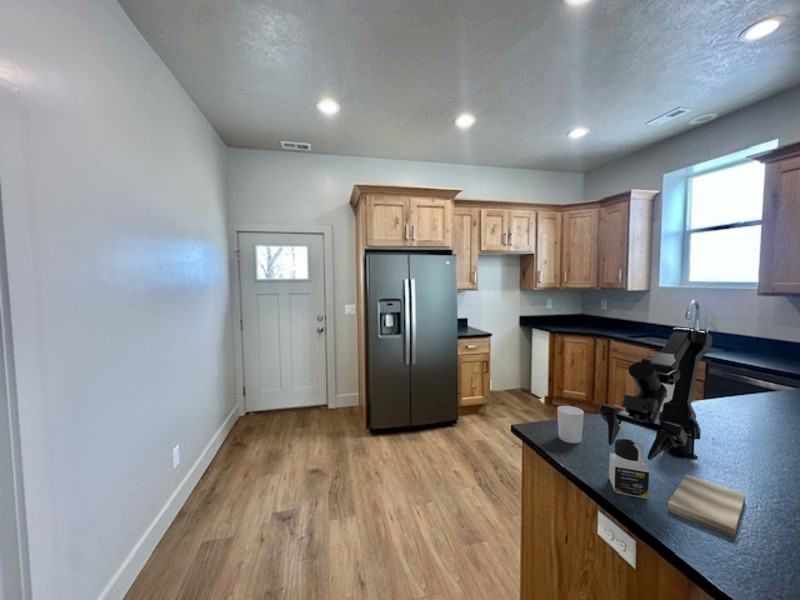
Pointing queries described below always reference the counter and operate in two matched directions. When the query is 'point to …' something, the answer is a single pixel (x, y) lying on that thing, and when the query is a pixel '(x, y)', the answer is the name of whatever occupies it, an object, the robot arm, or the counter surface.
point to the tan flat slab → (708, 504)
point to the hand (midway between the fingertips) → (628, 451)
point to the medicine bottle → (628, 469)
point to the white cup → (570, 424)
